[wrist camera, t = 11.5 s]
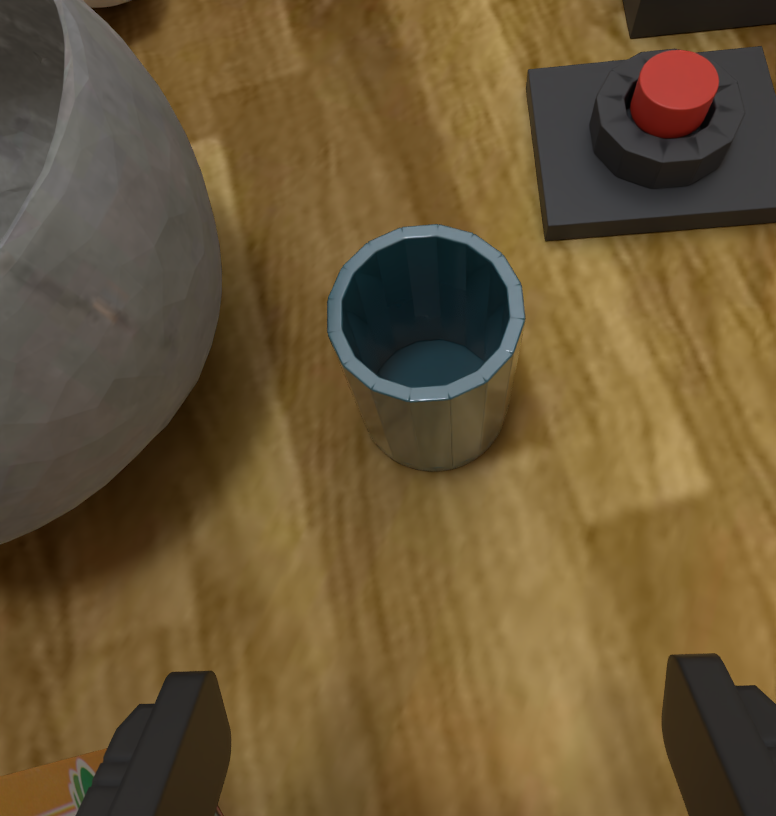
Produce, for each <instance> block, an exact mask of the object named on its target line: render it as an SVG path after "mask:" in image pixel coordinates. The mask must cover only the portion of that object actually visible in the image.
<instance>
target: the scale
mask: <svg viewBox="0 0 776 816" xmlns="http://www.w3.org/2000/svg"><path fill="white" fill-rule="evenodd" d="M623 3H624V8H625V13H626V18H627V24H628V29H629V34H630V38H637V37H647V36H657V35H666V34H676V33H686V32H695V31H705V30H715V29H725V28H734V27H744V26H754V25H764V24H773V23H776V0H623Z"/></svg>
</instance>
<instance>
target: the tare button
mask: <svg viewBox="0 0 776 816" xmlns="http://www.w3.org/2000/svg"><path fill="white" fill-rule="evenodd" d="M718 86H719V77H718V73H717V71H716V69H715V67H714V66H713V65H712V63H711V62H710V61H708V60H707V59H706V58H704V57H703V56H701V55H699V54H696V53H694V52H690V51H685V50H671V51H666V52H662V53H660V54H657V55H655V56H654V57H652V58H651V59H650V60H648V61H647V62H646V63H645V65H644V66H643V68H642V69H641V72H640V75H639V78H638V81H637V84H636V87H635V91H634V94H633V97H632V100H631V104H630V111H631V115H632V118H633V120H634V122H635V123H636V124H637V126H638V127H639V128H640V129H642V130H643V131H644V132H646V133H648V134H650V135H653V136H656V137H659V138H667V139H672V138H679V137H683V136H686V135H688V134H690V133H692V132H693V131H695V130H696V129H697V128H698V127H699V126H700V125H701V124H702V122H703V121H704V119H705V117H706V114H707V112H708V110H709V108H710V106H711V103H712V101H713V99H714V97H715V95H716V92H717V90H718Z"/></svg>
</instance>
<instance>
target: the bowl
mask: <svg viewBox="0 0 776 816" xmlns="http://www.w3.org/2000/svg"><path fill="white" fill-rule="evenodd" d="M221 295H222V266H221V255H220V246H219V240H218V235H217V229H216V224H215V220H214V216H213V212H212V208H211V205H210V201H209V197H208V193H207V190H206V186H205V183H204V179H203V175H202V173H201V170H200V167H199V165H198V162H197V160H196V157H195V154H194V152H193V149H192V147H191V145H190V142H189V140H188V138H187V136H186V134H185V131H184V130H183V128H182V126H181V124H180V122H179V120H178V119H177V117H176V115H175V113H174V111H173V110H172V108H171V106H170V104H169V102H168V100H167V99H166V97H165V96H164V94H163V92H162V91H161V89H160V87H159V86H158V84H157V83H156V82H155V81H154V79H153V78H152V77H151V75H150V74H149V73H148V71H147V70H146V69H145V68H144V66H143V65H142V64H141V62H140V61H139V60H138V58H137V57H136V56H135V55H134V53H133V52H132V51H131V49H130V48H129V47H128V45H127V44H126V43H125V42H124V40H123V39H122V38H121V37H120V36H119V35H118V34H117V33H116V32H115V31H114V30H113V29H112V28H111V27H110V25H109V24H108V23H107V22H106V21H104V20H103V19H102V18H101V17H100V16H99V15H98V14H97V13H96V12H95V11H94V10H93V9H91V8H90V7H89V6H88V5H87V4H86V3H85V2H84V1H83V0H0V544H2V543H6V542H9V541H11V540H13V539H16V538H18V537H20V536H23V535H25V534H27V533H29V532H32V531H34V530H36V529H39V528H40V527H42V526H44V525H46V524H47V523H49V522H51V521H53V520H54V519H56V518H58V517H60V516H62V515H63V514H65V513H67V512H69V511H70V510H72V509H74V508H75V507H77V506H78V505H79V504H81V503H82V502H83V501H85V500H86V499H87V498H89V497H90V496H92V495H93V494H94V493H96V492H97V491H98V490H100V489H101V488H102V487H104V486H105V485H106V484H107V483H109V482H110V481H111V480H112V479H113V478H114V477H115V476H116V475H117V474H118V473H119V472H120V471H121V470H122V469H123V468H124V467H125V466H127V465H128V464H129V463H130V462H131V461H132V460H133V459H134V458H135V457H136V456H137V455H138V454H139V453H140V452H141V451H142V450H143V449H144V448H145V447H146V446H147V445H148V443H149V442H150V441H151V440H152V439H153V438H154V437H155V436H156V435H157V434H159V433H160V432H161V431H162V430H163V429H164V428H165V427H166V426H167V425H168V424H169V422H170V421H171V419H172V418H173V417H174V415H175V414H176V412H177V411H178V409H179V408H180V406H181V405H182V403H183V402H184V401H185V399H186V398H187V396H188V395H189V393H190V392H191V390H192V389H193V387H194V386H195V384H196V383H197V382H198V379H199V377H200V374H201V372H202V369H203V367H204V364H205V362H206V359H207V357H208V354H209V352H210V349H211V347H212V343H213V339H214V335H215V331H216V326H217V322H218V318H219V312H220V303H221Z"/></svg>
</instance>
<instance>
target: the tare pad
mask: <svg viewBox="0 0 776 816" xmlns="http://www.w3.org/2000/svg"><path fill="white" fill-rule="evenodd" d="M671 50H679V49H667V50H657V51H648V52H640V53H638V54H637V55H635V56H633V57H632V58H630V59H628V60H618V61H608V62H598V63H588V64H578V65H568V66H559V67H549V68H539V69H529V70H528V74H527V83H526V93H527V101H528V109H529V117H530V125H531V133H532V141H533V149H534V157H535V165H536V172H537V180H538V188H539V196H540V204H541V212H542V220H543V228H544V236H545V241H548V240H560V239H573V238H585V237H598V236H610V235H623V234H635V233H648V232H660V231H672V230H685V229H697V228H710V227H722V226H735V225H747V224H760V223H772V222H776V95H775V91H774V88H773V84H772V81H771V77H770V74H769V70H768V66H767V63H766V59H765V56H764V52H763V49H762V46H758V47H748V48H738V49H728V50H718V51H708V52H698V53H696V54H699V55H701V56H703V57H704V58H706V59H707V60H708V61H710V62H711V63H712V65H713V66H714V67H715V69H716V71H717V73H718V77H719V86H718V90H717V92H716V95H715V97H714V99H713V101H712V103H711V106H710V108H709V110H708V112H707V114H706V117H705V119H704V121H703V122H702V124H701V125H700V126H699V127H698V128H697V129H696V130H695V131H693V132H692V133H690V134H688V135H686V136H683V137H679V138H672V139H667V138H659V137H656V136H653V135H650V134H648V133H646V132H644V131H643V130H642V129H640V128H639V127H638V126H637V124H636V123H635V122H634V120H633V118H632V115H631V111H630V104H631V100H632V97H633V94H634V91H635V87H636V84H637V81H638V78H639V75H640V72H641V69H642V68H643V66H644V65H645V63H646V62H647V61H648V60H650V59H651V58H652V57H654V56H655V55H657V54H660V53H662V52H666V51H671Z"/></svg>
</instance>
